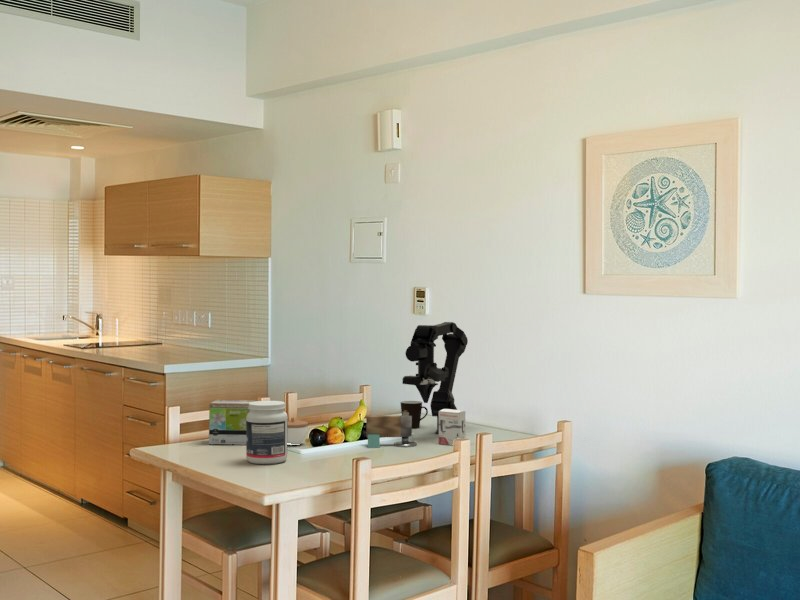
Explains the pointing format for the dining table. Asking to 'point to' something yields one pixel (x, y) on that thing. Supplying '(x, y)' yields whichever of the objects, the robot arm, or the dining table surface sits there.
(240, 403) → the tea box
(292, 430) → the lidded jar
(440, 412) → the ink box
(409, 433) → the brown rectangular block
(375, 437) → the stool pivot and socket
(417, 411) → the coffee mug
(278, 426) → the supplement tub
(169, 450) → the dining table surface
